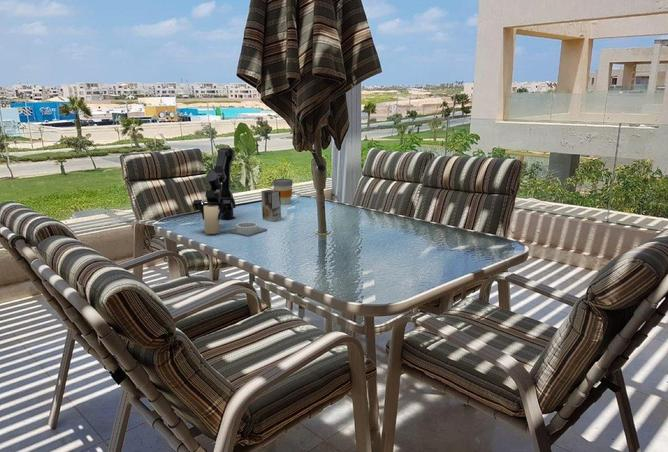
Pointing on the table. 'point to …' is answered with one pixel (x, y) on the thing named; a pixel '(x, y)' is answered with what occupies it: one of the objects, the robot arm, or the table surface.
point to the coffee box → (271, 205)
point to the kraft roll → (211, 219)
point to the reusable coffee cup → (283, 189)
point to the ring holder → (247, 229)
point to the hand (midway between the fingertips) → (210, 219)
